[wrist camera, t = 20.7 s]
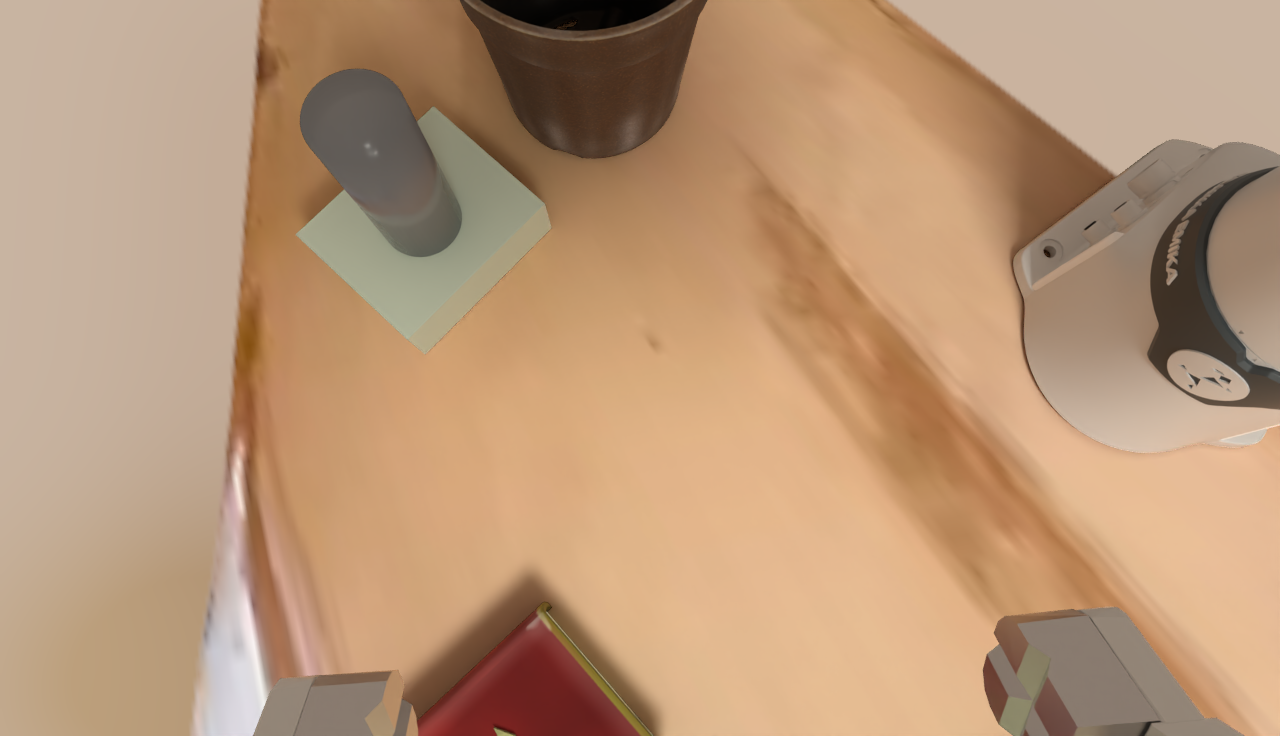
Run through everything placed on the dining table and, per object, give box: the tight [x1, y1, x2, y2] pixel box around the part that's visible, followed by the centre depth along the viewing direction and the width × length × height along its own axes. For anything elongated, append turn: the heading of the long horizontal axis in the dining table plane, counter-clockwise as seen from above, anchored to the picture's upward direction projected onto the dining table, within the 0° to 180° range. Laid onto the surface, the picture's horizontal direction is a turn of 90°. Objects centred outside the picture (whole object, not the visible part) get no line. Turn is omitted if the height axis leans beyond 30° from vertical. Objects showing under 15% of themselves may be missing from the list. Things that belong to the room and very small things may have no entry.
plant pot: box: [460, 0, 707, 158], centre depth 46 cm, size 16×16×16 cm
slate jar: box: [300, 69, 462, 257], centre depth 41 cm, size 5×5×12 cm
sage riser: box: [296, 106, 552, 354], centre depth 49 cm, size 12×10×4 cm
